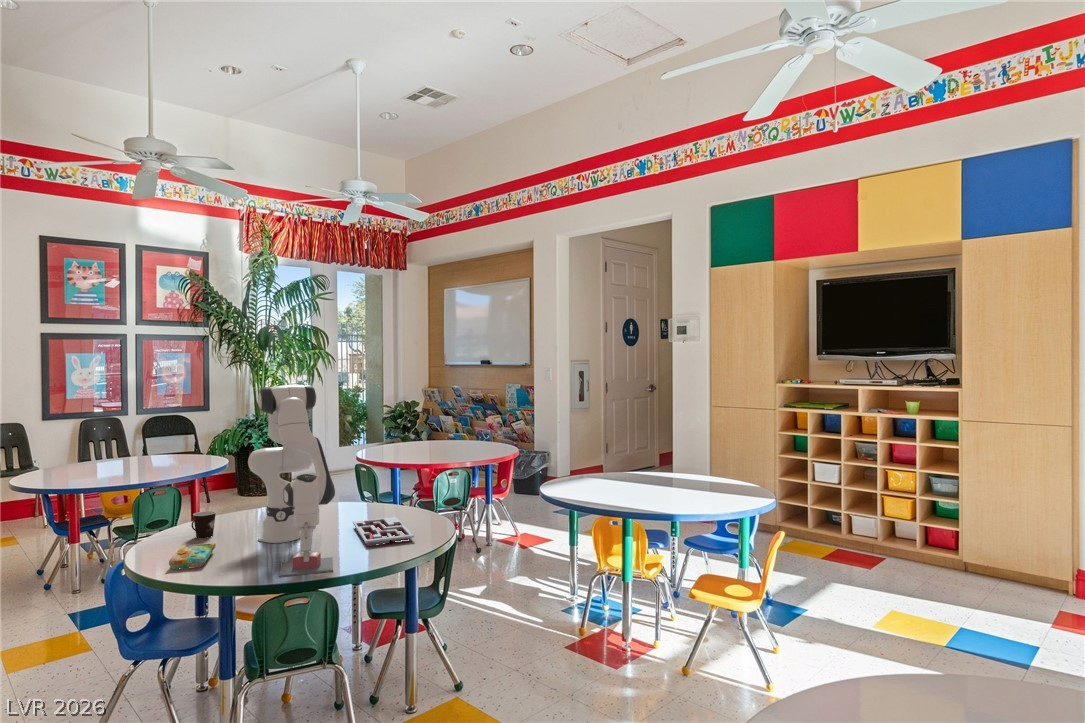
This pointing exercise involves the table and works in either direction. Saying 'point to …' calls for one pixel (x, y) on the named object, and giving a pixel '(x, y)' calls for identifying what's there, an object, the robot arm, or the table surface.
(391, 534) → the maze game
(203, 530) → the coffee mug
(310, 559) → the card deck
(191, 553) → the puzzle game
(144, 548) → the table surface
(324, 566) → the mat
